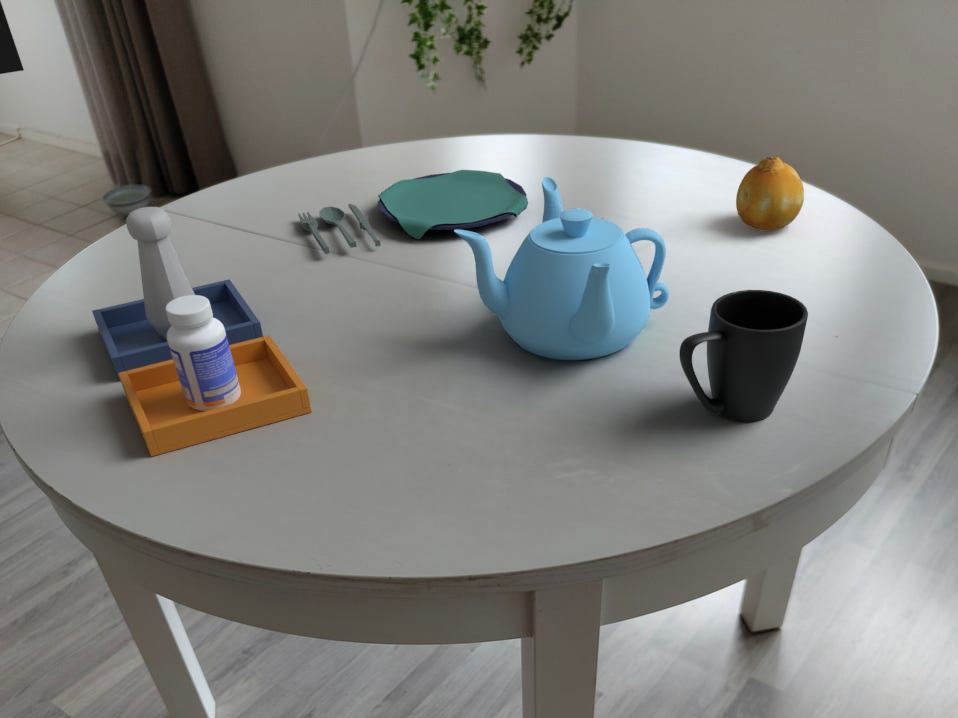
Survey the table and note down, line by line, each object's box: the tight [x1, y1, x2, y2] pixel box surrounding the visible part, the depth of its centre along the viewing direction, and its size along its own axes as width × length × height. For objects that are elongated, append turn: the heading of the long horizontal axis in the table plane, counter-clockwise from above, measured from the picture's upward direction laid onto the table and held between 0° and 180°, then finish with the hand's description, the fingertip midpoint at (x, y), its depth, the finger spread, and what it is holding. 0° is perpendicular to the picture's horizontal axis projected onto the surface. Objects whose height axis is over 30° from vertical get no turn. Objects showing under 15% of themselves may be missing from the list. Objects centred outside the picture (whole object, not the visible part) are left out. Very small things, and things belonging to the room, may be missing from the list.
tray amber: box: [118, 334, 312, 457], centre depth 92 cm, size 16×13×3 cm
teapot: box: [453, 176, 670, 361], centre depth 96 cm, size 17×19×12 cm
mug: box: [678, 289, 809, 423], centre depth 84 cm, size 8×12×10 cm
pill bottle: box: [166, 295, 241, 411], centre depth 89 cm, size 5×5×10 cm
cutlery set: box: [297, 169, 529, 255], centre depth 124 cm, size 20×30×2 cm, turn 110°
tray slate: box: [91, 278, 264, 382], centre depth 102 cm, size 16×13×3 cm
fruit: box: [735, 156, 805, 232], centre depth 116 cm, size 8×8×8 cm
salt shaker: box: [125, 206, 195, 340], centre depth 98 cm, size 6×6×13 cm
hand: (0, 56), depth 87 cm, fingers open, 13 cm apart
